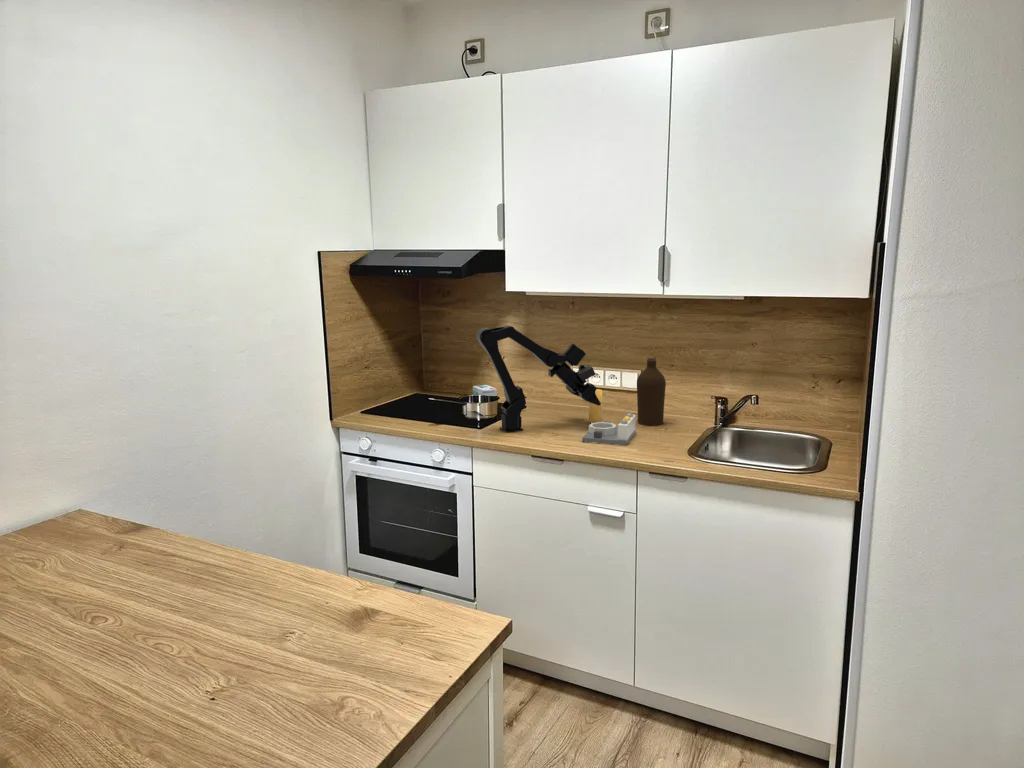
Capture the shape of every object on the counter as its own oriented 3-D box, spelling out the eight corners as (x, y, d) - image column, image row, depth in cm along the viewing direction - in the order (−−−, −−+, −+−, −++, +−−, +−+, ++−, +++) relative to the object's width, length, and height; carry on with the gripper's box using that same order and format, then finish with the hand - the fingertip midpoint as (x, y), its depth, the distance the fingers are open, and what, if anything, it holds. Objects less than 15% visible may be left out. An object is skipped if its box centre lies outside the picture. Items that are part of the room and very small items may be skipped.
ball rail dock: (582, 442, 231) (582, 419, 230) (594, 429, 248) (594, 408, 246) (626, 445, 226) (626, 422, 224) (635, 432, 242) (636, 410, 241)
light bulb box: (472, 411, 281) (472, 385, 279) (487, 409, 283) (487, 384, 281) (482, 416, 271) (482, 390, 269) (498, 414, 274) (497, 388, 272)
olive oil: (652, 427, 249) (653, 359, 244) (630, 422, 257) (631, 357, 252) (670, 422, 255) (672, 356, 251) (648, 418, 263) (649, 354, 259)
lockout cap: (594, 425, 254) (594, 392, 252) (586, 422, 258) (586, 390, 256) (604, 423, 256) (605, 390, 254) (596, 420, 261) (597, 388, 258)
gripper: (591, 362, 243) (619, 390, 247) (573, 355, 260) (600, 382, 265) (570, 386, 242) (599, 413, 247) (553, 377, 260) (581, 403, 265)
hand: (595, 402), depth 256 cm, fingers open, 9 cm apart
